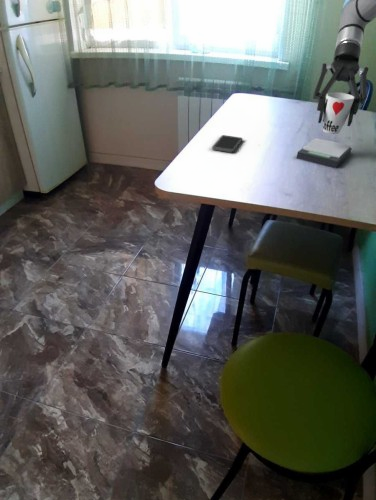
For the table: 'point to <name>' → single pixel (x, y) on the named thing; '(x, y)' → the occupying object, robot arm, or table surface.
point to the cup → (336, 111)
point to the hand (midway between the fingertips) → (334, 122)
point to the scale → (324, 152)
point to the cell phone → (227, 143)
